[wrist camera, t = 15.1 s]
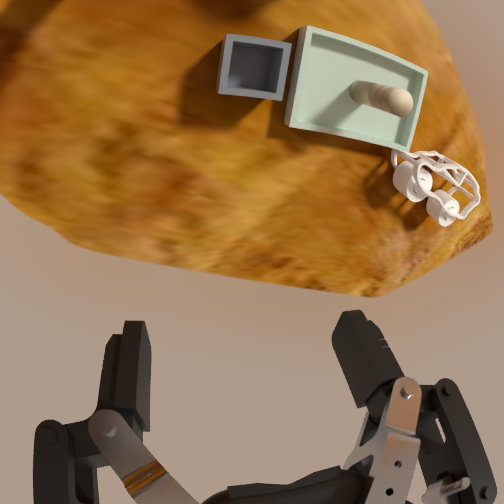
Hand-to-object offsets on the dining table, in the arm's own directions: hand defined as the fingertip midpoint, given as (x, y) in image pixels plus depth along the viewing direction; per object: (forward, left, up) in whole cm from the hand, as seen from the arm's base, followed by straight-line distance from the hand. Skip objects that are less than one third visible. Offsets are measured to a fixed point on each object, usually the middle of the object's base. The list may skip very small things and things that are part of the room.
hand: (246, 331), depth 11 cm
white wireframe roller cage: (+1, +38, -32) cm, 49 cm away
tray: (-10, +19, -31) cm, 38 cm away
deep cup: (-10, +3, -31) cm, 33 cm away
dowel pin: (-10, +19, -30) cm, 37 cm away
